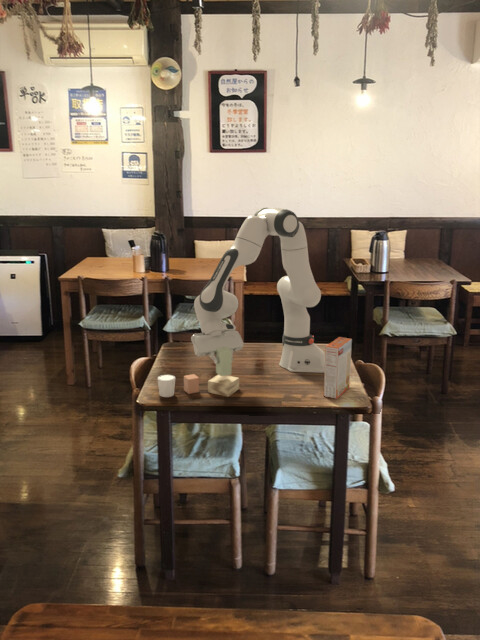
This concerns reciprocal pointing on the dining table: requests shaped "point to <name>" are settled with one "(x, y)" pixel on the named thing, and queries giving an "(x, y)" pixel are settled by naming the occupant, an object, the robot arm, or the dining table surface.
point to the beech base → (223, 385)
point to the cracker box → (337, 367)
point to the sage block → (224, 361)
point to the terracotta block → (191, 383)
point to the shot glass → (166, 385)
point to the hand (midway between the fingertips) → (224, 362)
